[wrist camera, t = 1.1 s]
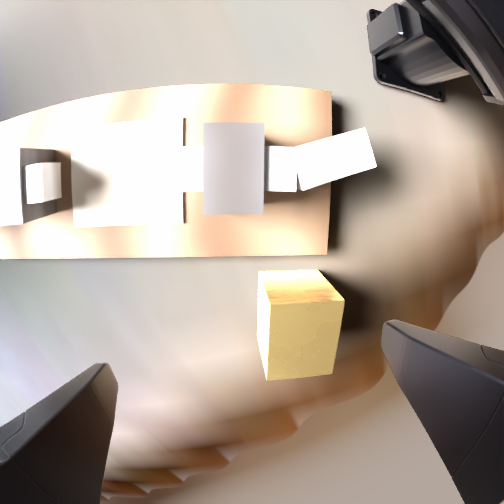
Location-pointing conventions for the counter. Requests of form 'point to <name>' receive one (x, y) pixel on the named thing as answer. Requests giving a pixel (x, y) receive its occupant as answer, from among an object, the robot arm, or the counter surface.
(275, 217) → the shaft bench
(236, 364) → the counter surface
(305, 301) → the block
